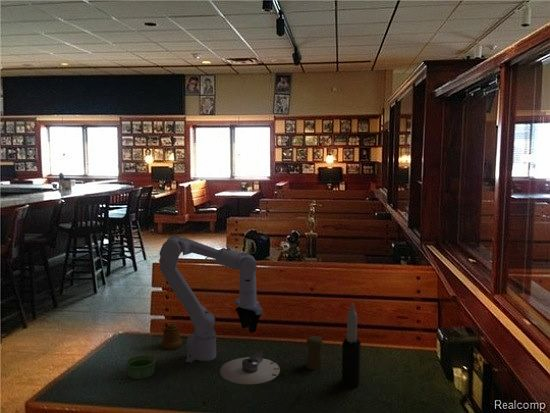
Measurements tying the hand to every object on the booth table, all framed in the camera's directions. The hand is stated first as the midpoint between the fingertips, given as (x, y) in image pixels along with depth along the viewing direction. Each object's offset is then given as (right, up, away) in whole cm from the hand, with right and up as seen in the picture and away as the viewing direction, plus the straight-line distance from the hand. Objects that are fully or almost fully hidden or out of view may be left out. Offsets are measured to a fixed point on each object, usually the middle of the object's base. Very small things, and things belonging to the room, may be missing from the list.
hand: (248, 329), depth 156 cm
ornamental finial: (-29, -10, +12) cm, 33 cm away
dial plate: (+1, -11, -10) cm, 15 cm away
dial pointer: (+2, -9, -8) cm, 13 cm away
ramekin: (-34, -12, -10) cm, 37 cm away
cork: (+22, -11, -7) cm, 26 cm away
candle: (+32, -12, -15) cm, 38 cm away
